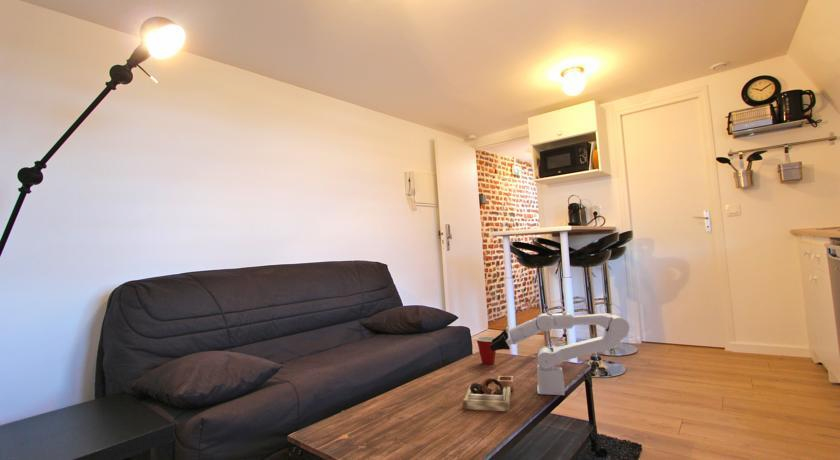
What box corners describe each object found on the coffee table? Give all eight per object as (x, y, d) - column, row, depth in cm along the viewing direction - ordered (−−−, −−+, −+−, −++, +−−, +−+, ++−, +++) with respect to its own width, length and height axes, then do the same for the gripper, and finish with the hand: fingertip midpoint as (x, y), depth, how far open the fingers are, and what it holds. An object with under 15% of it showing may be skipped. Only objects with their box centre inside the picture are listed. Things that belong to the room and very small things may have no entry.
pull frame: (514, 385, 155) (513, 374, 156) (511, 408, 133) (510, 396, 133) (477, 383, 159) (476, 373, 160) (468, 406, 137) (468, 394, 137)
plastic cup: (504, 363, 185) (503, 337, 186) (487, 367, 180) (485, 341, 180) (489, 358, 195) (488, 334, 195) (472, 362, 189) (471, 337, 190)
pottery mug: (497, 393, 149) (503, 377, 145) (501, 414, 140) (507, 397, 137) (466, 388, 149) (471, 372, 145) (468, 408, 140) (473, 391, 137)
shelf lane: (510, 393, 147) (510, 385, 148) (508, 411, 132) (508, 402, 132) (470, 391, 152) (469, 383, 152) (463, 408, 136) (463, 400, 136)
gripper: (518, 318, 159) (489, 331, 162) (517, 326, 145) (484, 341, 148) (527, 334, 158) (497, 347, 161) (526, 344, 144) (493, 358, 147)
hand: (491, 345), depth 154 cm, fingers open, 7 cm apart
